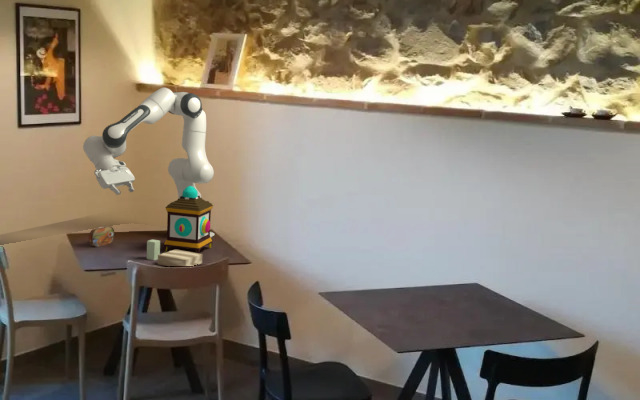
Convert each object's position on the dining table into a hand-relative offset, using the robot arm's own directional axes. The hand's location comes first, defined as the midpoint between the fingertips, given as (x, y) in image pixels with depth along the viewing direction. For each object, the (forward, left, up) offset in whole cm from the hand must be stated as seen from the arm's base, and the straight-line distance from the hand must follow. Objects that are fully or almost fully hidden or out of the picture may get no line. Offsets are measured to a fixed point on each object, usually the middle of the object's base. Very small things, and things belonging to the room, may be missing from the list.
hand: (125, 192), depth 339 cm
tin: (-6, -18, -28) cm, 34 cm away
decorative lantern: (-23, +18, -28) cm, 40 cm away
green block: (0, +15, -27) cm, 31 cm away
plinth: (0, +29, -27) cm, 40 cm away
